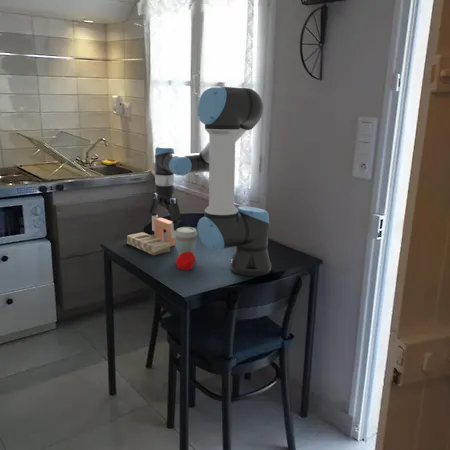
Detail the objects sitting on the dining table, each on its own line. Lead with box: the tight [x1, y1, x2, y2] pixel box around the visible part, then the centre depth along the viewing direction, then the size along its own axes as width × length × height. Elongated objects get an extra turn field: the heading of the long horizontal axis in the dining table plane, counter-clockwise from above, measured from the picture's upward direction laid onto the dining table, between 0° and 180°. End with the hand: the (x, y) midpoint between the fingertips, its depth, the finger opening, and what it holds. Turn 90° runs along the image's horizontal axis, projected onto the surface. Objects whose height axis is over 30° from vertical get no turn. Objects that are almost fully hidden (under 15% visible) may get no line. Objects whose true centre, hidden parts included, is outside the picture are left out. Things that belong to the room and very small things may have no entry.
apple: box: [175, 252, 196, 271], centre depth 177 cm, size 7×7×8 cm
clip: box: [153, 217, 176, 248], centre depth 204 cm, size 10×4×10 cm, turn 44°
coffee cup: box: [175, 226, 199, 257], centre depth 185 cm, size 8×8×12 cm
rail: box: [126, 231, 171, 256], centre depth 199 cm, size 19×8×4 cm, turn 44°
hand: (164, 233), depth 204 cm, fingers open, 13 cm apart
